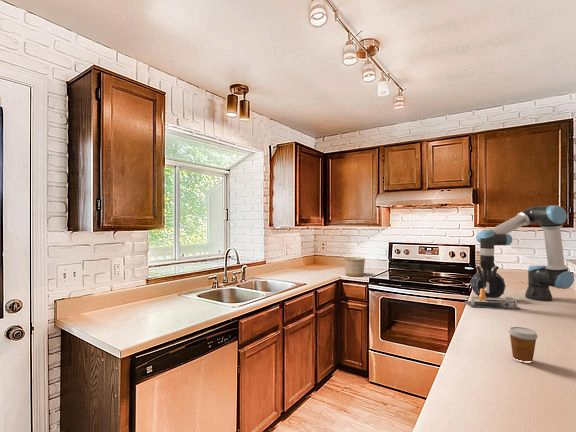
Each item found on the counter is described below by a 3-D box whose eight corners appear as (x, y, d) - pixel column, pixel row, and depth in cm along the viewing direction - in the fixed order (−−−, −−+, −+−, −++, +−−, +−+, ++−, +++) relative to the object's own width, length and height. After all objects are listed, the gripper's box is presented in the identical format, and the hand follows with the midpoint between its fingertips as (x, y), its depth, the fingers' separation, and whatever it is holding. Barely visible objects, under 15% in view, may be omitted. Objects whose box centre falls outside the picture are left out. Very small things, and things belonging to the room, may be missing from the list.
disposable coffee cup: (502, 355, 137) (502, 326, 137) (524, 355, 138) (524, 326, 138) (520, 366, 128) (520, 335, 128) (543, 365, 128) (544, 334, 128)
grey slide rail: (513, 306, 211) (513, 296, 211) (517, 308, 206) (517, 298, 206) (469, 304, 215) (469, 294, 215) (472, 307, 210) (472, 296, 210)
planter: (352, 272, 332) (352, 256, 332) (368, 275, 318) (368, 258, 318) (340, 275, 319) (340, 258, 319) (356, 278, 305) (356, 260, 305)
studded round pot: (507, 302, 222) (507, 272, 222) (474, 300, 226) (474, 271, 226) (500, 298, 233) (500, 269, 232) (469, 296, 237) (469, 268, 236)
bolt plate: (510, 304, 217) (510, 302, 217) (520, 309, 205) (520, 307, 205) (464, 302, 221) (464, 300, 221) (471, 307, 209) (471, 305, 209)
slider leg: (482, 303, 214) (482, 287, 214) (486, 305, 208) (486, 289, 208) (477, 303, 214) (477, 287, 214) (481, 305, 209) (481, 289, 209)
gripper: (495, 254, 213) (495, 291, 213) (473, 254, 215) (473, 290, 215) (501, 256, 205) (501, 294, 205) (478, 255, 207) (478, 293, 207)
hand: (486, 292), depth 210 cm, fingers closed
